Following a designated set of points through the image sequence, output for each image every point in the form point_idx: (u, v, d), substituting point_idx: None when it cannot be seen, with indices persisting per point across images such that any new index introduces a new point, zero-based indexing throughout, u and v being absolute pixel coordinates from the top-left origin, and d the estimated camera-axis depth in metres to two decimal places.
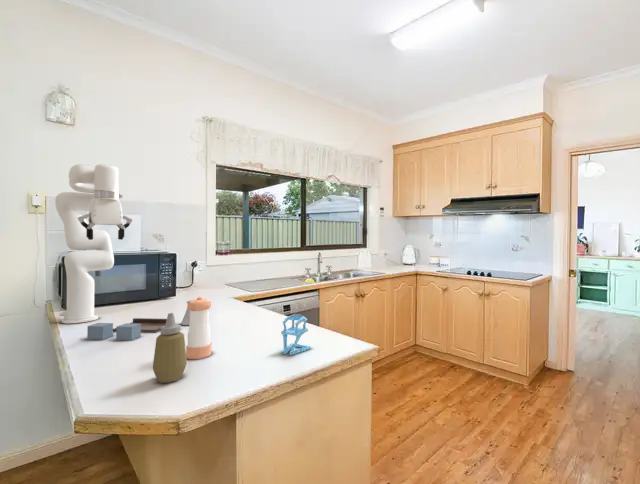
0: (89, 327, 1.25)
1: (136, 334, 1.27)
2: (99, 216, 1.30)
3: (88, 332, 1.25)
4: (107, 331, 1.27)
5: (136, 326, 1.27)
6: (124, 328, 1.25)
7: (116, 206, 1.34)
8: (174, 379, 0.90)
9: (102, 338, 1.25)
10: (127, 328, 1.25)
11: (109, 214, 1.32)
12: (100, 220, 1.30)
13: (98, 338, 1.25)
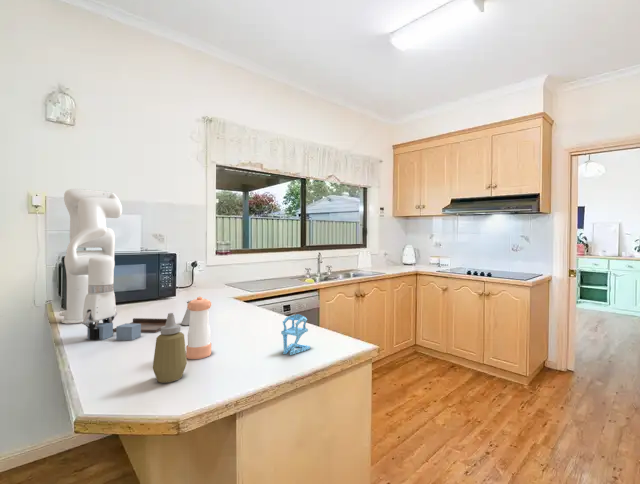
0: None
1: (136, 334, 1.27)
2: (100, 312, 1.25)
3: (88, 332, 1.25)
4: (107, 331, 1.27)
5: (136, 326, 1.27)
6: (124, 328, 1.25)
7: (112, 298, 1.30)
8: (174, 379, 0.90)
9: (102, 338, 1.25)
10: (127, 328, 1.25)
11: (107, 308, 1.28)
12: (101, 315, 1.25)
13: None
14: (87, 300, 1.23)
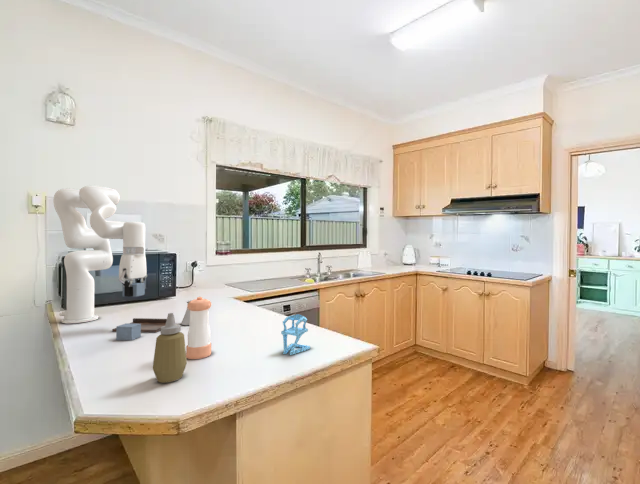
0: None
1: (136, 334, 1.27)
2: (134, 271, 1.37)
3: (123, 290, 1.38)
4: (140, 289, 1.40)
5: (136, 326, 1.27)
6: (124, 328, 1.25)
7: (144, 260, 1.43)
8: (174, 379, 0.90)
9: (136, 295, 1.38)
10: (127, 328, 1.25)
11: (139, 268, 1.40)
12: (134, 275, 1.38)
13: None
14: (122, 260, 1.35)
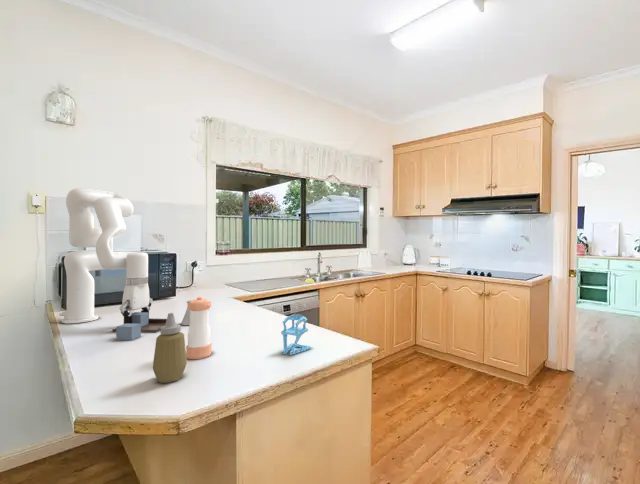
0: None
1: (136, 334, 1.27)
2: (137, 302, 1.39)
3: None
4: (144, 319, 1.41)
5: (136, 326, 1.27)
6: (124, 328, 1.25)
7: (147, 290, 1.44)
8: (174, 379, 0.90)
9: None
10: (127, 328, 1.25)
11: (142, 299, 1.42)
12: (138, 305, 1.39)
13: None
14: (126, 291, 1.37)
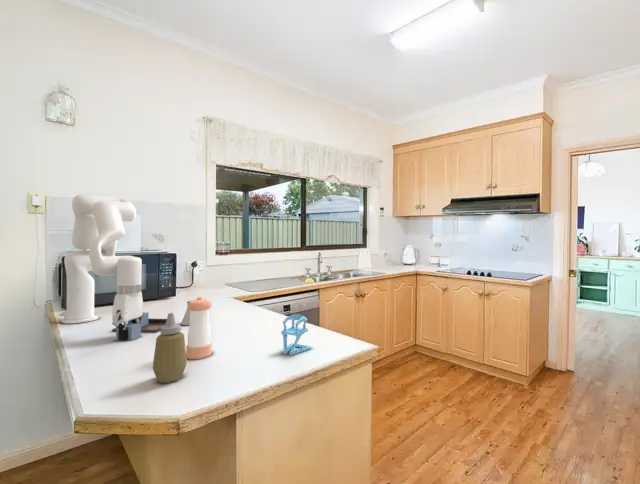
0: None
1: (136, 334, 1.27)
2: (129, 312, 1.25)
3: None
4: (144, 319, 1.41)
5: (136, 326, 1.27)
6: None
7: (140, 298, 1.30)
8: (174, 379, 0.90)
9: None
10: (127, 328, 1.25)
11: (135, 308, 1.28)
12: (130, 316, 1.25)
13: None
14: (116, 300, 1.23)
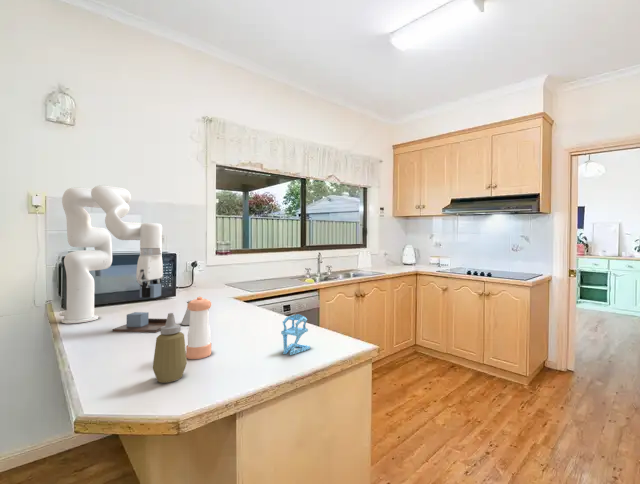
0: (128, 316, 1.39)
1: (157, 293, 1.40)
2: (151, 272, 1.37)
3: (127, 320, 1.39)
4: (144, 319, 1.41)
5: (157, 285, 1.40)
6: None
7: (160, 261, 1.43)
8: (174, 379, 0.90)
9: (140, 325, 1.39)
10: (149, 287, 1.38)
11: (156, 270, 1.40)
12: (152, 276, 1.38)
13: (136, 325, 1.39)
14: (140, 261, 1.35)
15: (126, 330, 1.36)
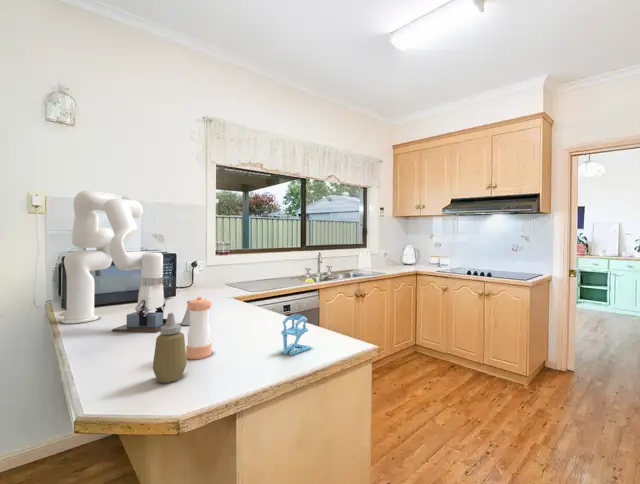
0: (128, 316, 1.39)
1: (159, 322, 1.41)
2: (152, 302, 1.38)
3: (127, 320, 1.39)
4: None
5: (159, 315, 1.41)
6: (149, 316, 1.39)
7: (161, 290, 1.44)
8: (174, 379, 0.90)
9: None
10: (151, 316, 1.39)
11: (157, 299, 1.41)
12: (153, 305, 1.39)
13: (136, 325, 1.39)
14: (141, 291, 1.36)
15: (126, 330, 1.36)
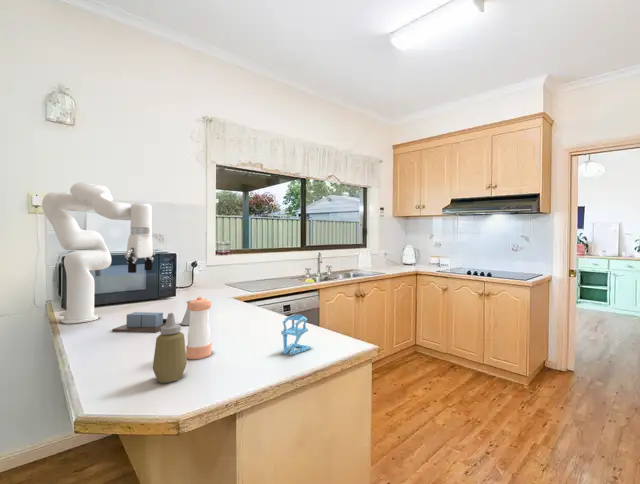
0: (128, 316, 1.39)
1: (159, 322, 1.41)
2: (141, 251, 1.43)
3: (127, 320, 1.39)
4: None
5: (159, 315, 1.41)
6: (149, 316, 1.39)
7: (150, 240, 1.48)
8: (174, 379, 0.90)
9: (140, 325, 1.39)
10: (151, 316, 1.39)
11: (146, 248, 1.46)
12: (142, 254, 1.43)
13: (136, 325, 1.39)
14: (130, 239, 1.41)
15: (126, 330, 1.36)
